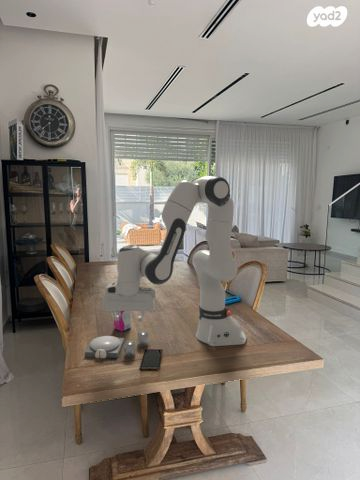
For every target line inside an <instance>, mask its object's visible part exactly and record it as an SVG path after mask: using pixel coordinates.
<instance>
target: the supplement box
mask: <svg viewBox="0 0 360 480" xmlns="http://www.w3.org/2000/svg"><path fill="white" fill-rule="evenodd" d="M116 314H117V315H119V320H118V321H115V320H114V319H113V329H114V330H116V331H118V332H120V333H125V332H126V331H128V330H130V329H132V327H131V326H132V324H131V322H132V321H131V311H118V310H116Z"/></svg>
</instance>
